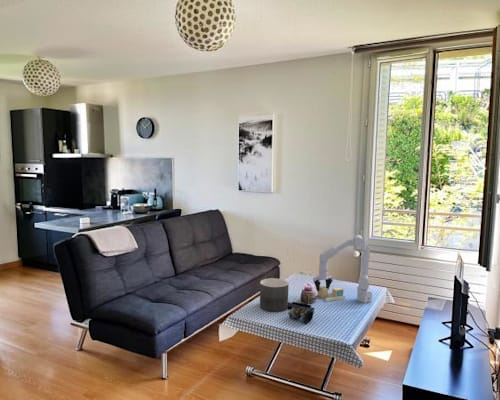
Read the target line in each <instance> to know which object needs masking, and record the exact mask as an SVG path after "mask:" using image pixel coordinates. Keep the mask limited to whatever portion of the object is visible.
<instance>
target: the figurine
mask: <svg viewBox="0 0 500 400" xmlns="http://www.w3.org/2000/svg"><path fill="white" fill-rule="evenodd" d="M287 314H288V317H289V318H290V319H294V320H300V319H301V321H302V322H303V323H304V324H306V325H308V323H310V322H311V321H312V320H313V316H314V311H313V310H312V308H310V309H309V308H308V309H307V308H305V307H304V306H303V307H292V308H291V310H290V311H288V313H287Z"/></svg>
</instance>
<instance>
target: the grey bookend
mask: <svg viewBox="0 0 500 400" xmlns="http://www.w3.org/2000/svg"><path fill="white" fill-rule="evenodd" d="M316 295H317V296H316V297H317V298H320V299H321V300H323V301H324V302H331V301H336V300H344V299H345V298H346V297H345V296H346V295H343V296H338V297H332V292H331V293H330V292H328V297H327V298H322V297H320V296H318V294H316Z"/></svg>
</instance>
